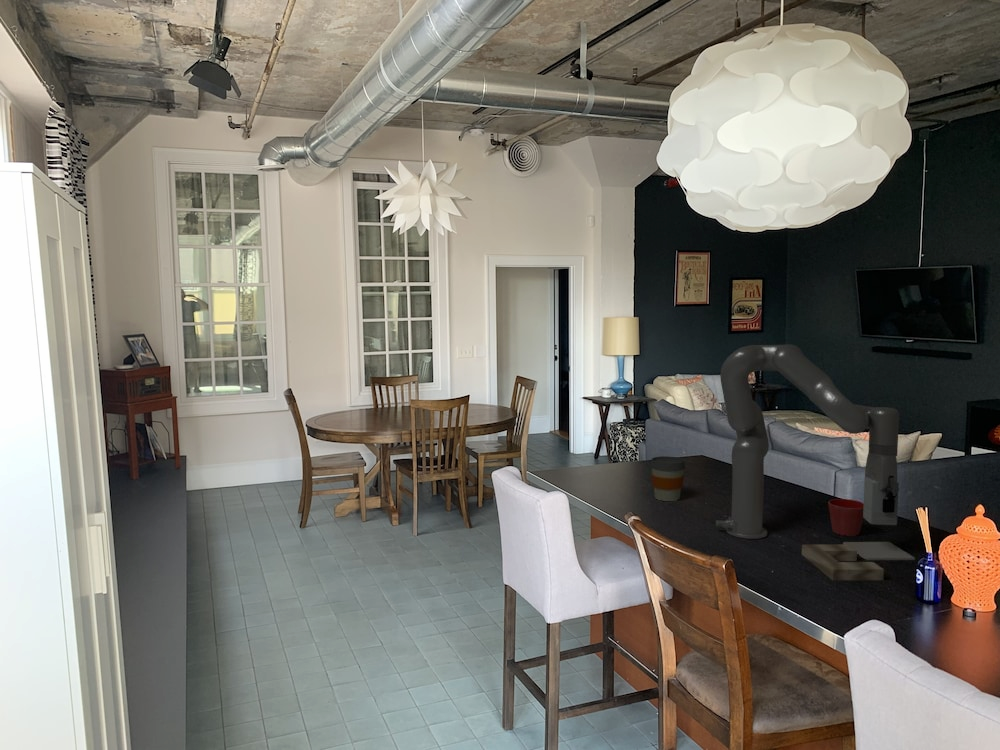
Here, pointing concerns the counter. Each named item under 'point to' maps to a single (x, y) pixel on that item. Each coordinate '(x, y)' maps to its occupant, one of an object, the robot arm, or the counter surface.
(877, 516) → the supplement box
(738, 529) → the robot arm
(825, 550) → the box dock
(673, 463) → the reusable coffee cup
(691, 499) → the counter surface
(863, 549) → the tile
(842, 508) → the flower pot
